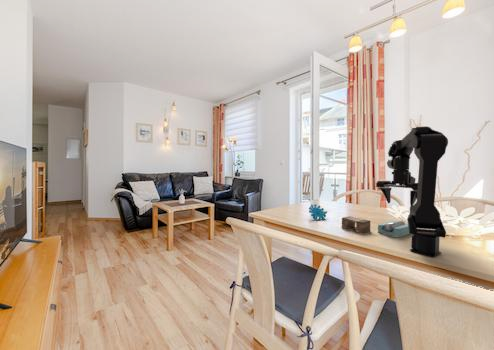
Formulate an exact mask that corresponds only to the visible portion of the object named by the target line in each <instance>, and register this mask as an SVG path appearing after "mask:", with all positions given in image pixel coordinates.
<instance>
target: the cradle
mask: <svg viewBox="0 0 494 350" xmlns="http://www.w3.org/2000/svg"><path fill="white" fill-rule="evenodd" d="M394 222H396V221H394V220H392V221H387V222H383V223H379V224H377V233H379V234H382V235H386V236H391V237H395V238H401V237H403V236H407V235H410V233H409V228H408V223H407V224H405V225H403V226H399V227H395V228H394V230H392V231H389V232H387V231H385V230H384V229H383V226H384V225H386V224H390V223H394Z"/></svg>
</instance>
